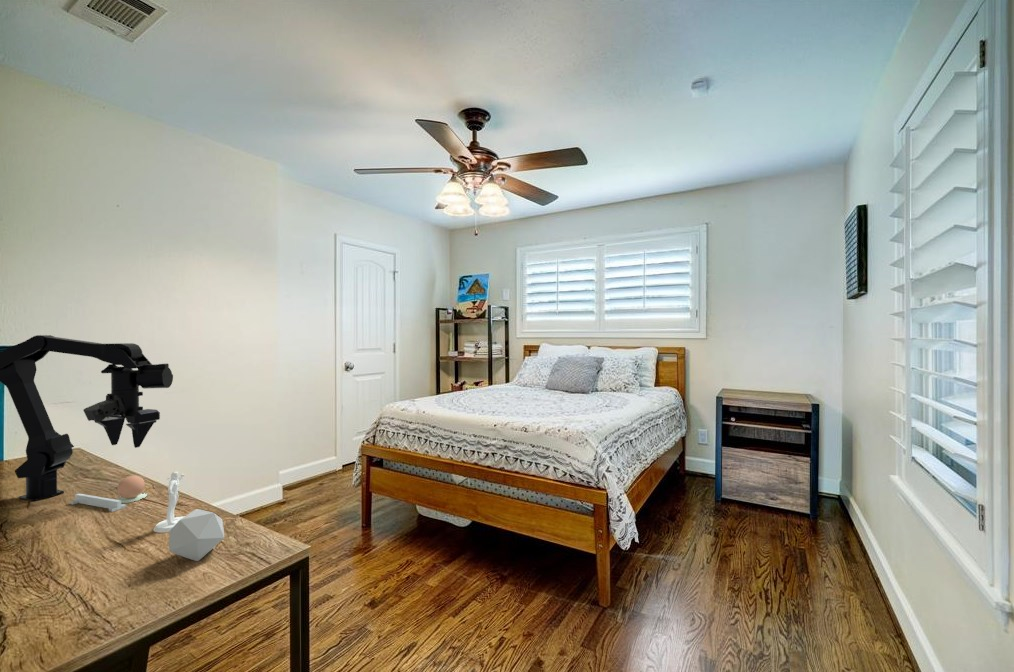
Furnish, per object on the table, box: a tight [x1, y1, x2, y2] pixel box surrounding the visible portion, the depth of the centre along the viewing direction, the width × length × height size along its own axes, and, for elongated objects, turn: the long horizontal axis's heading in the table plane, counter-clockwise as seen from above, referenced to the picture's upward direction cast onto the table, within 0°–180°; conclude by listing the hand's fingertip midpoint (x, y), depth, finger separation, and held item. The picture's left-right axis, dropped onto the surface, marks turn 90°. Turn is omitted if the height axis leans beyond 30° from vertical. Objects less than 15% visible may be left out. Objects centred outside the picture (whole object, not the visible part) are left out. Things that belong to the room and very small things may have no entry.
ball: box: [116, 475, 146, 498], centre depth 114 cm, size 6×6×6 cm
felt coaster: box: [115, 492, 148, 505], centre depth 114 cm, size 6×6×1 cm
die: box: [168, 508, 225, 562], centre depth 84 cm, size 8×9×10 cm
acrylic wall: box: [69, 493, 127, 513], centre depth 109 cm, size 16×3×2 cm, turn 72°
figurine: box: [153, 471, 186, 534], centre depth 98 cm, size 7×7×12 cm
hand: (125, 446), depth 120 cm, fingers open, 9 cm apart
